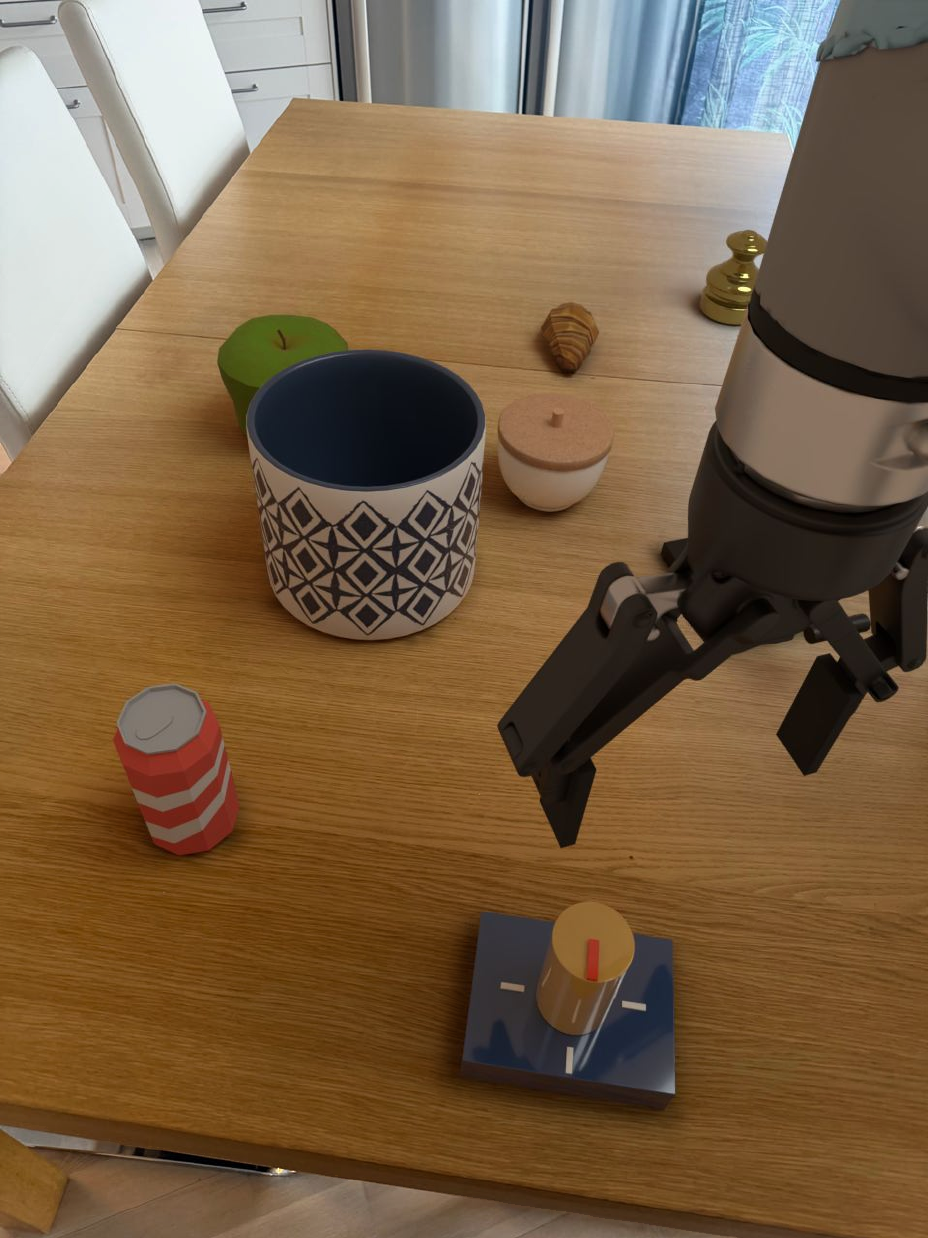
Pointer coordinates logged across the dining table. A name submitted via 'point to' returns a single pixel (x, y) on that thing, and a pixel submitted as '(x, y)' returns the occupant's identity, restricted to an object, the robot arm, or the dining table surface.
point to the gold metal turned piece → (733, 279)
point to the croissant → (570, 335)
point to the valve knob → (584, 967)
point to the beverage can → (177, 768)
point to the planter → (368, 490)
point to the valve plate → (555, 1061)
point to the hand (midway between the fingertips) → (680, 787)
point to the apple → (270, 353)
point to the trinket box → (553, 449)
